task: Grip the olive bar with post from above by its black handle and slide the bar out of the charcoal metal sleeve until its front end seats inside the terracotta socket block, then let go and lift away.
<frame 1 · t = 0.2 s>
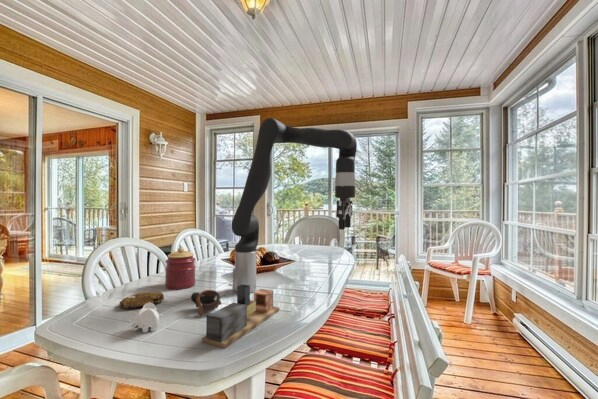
hand: (344, 228, 111), 29 cm above the table, tool pointing down, fingers open, 8 cm apart
decorative rock: (142, 305, 112), on the table
tube sleeve: (245, 324, 94), on the table
olive bar with post: (235, 304, 89), point 8 cm above the table, slide at 0.0 cm
canister: (180, 286, 137), on the table
elephant figurine: (146, 330, 90), on the table
pottery mug: (205, 311, 106), on the table
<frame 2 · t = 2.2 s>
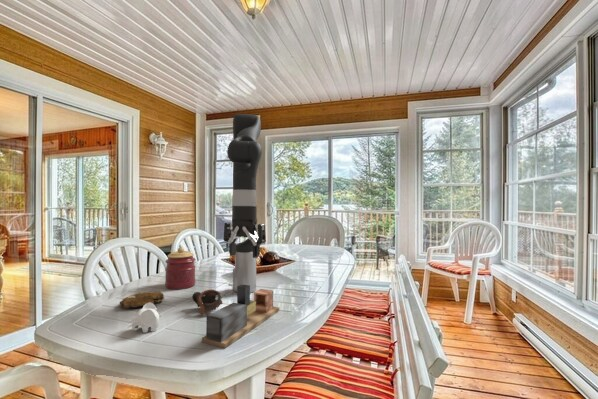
hand: (244, 256, 93), 22 cm above the table, tool pointing down, fingers open, 8 cm apart
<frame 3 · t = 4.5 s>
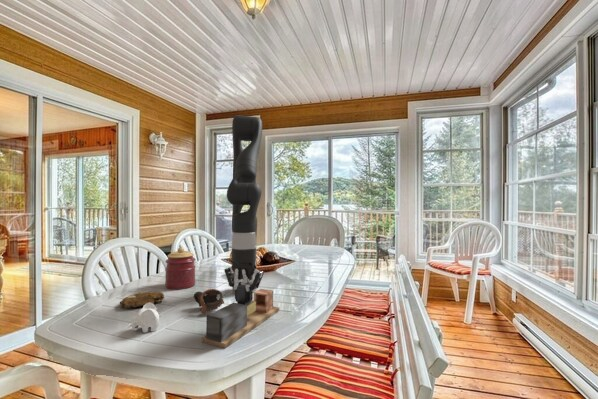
hand: (243, 301, 93), 8 cm above the table, tool pointing down, fingers closed on olive bar with post, 3 cm apart
olive bar with post: (235, 304, 89), point 8 cm above the table, slide at 0.0 cm, touching gripper
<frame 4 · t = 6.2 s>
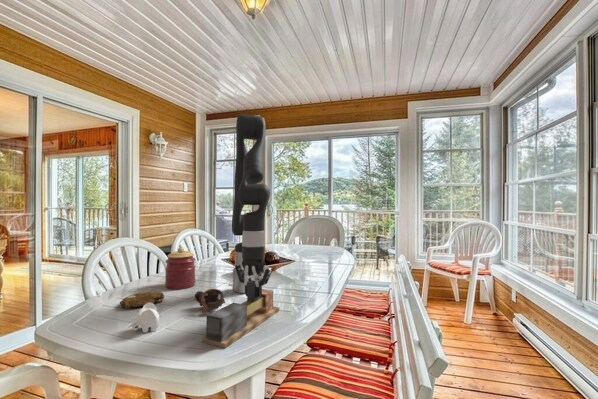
hand: (253, 296, 98), 8 cm above the table, tool pointing down, fingers closed on olive bar with post, 3 cm apart
olive bar with post: (246, 299, 94), point 8 cm above the table, slide at 5.4 cm, touching gripper
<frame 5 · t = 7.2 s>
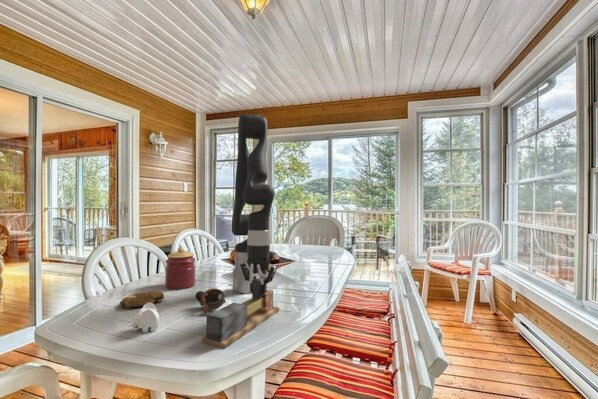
hand: (258, 293, 101), 8 cm above the table, tool pointing down, fingers closed on olive bar with post, 3 cm apart
olive bar with post: (251, 296, 97), point 8 cm above the table, slide at 8.4 cm, touching gripper
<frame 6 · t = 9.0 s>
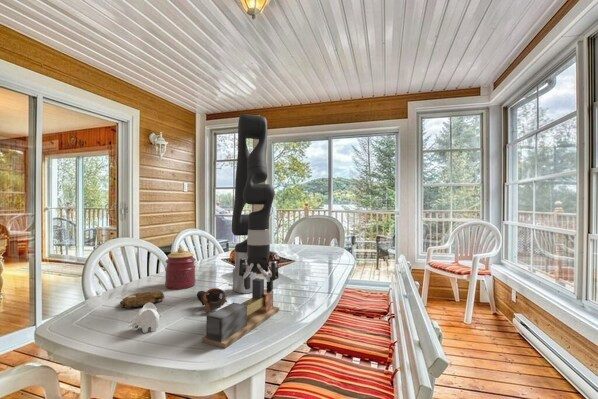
hand: (258, 290, 101), 9 cm above the table, tool pointing down, fingers open, 8 cm apart
olive bar with post: (251, 296, 97), point 8 cm above the table, slide at 8.4 cm
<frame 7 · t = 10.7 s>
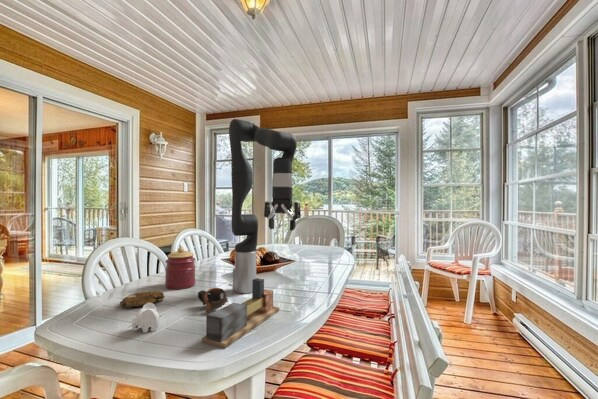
hand: (281, 229, 111), 28 cm above the table, tool pointing down, fingers open, 8 cm apart
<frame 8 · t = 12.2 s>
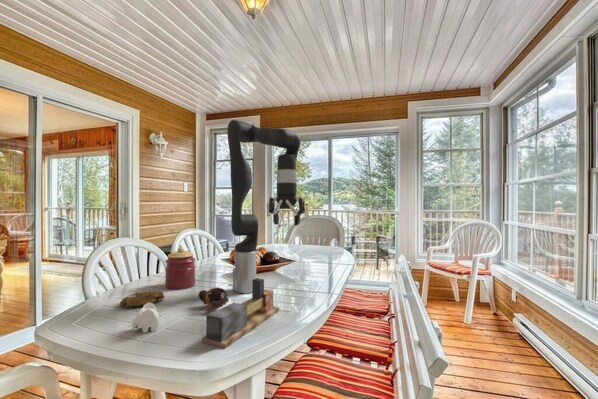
hand: (286, 224, 113), 30 cm above the table, tool pointing down, fingers open, 8 cm apart
at the end: olive bar with post slide at 8.4 cm; the gripper is holding nothing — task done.
